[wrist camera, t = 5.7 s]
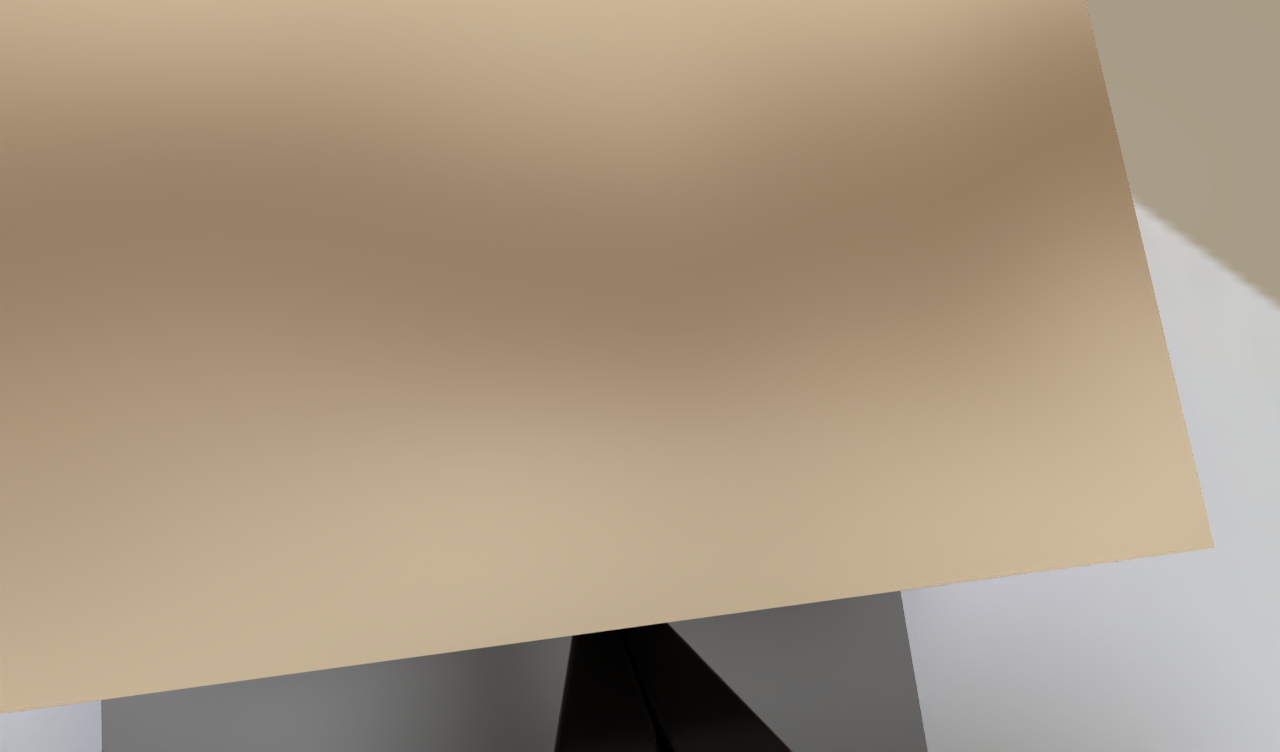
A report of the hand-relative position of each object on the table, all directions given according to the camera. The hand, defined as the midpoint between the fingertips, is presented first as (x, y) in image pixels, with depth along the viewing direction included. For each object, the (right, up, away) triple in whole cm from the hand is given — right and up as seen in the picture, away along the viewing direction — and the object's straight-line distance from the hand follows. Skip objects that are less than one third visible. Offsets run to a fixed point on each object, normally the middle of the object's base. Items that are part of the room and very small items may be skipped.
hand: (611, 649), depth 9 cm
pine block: (-2, +2, +7) cm, 7 cm away
